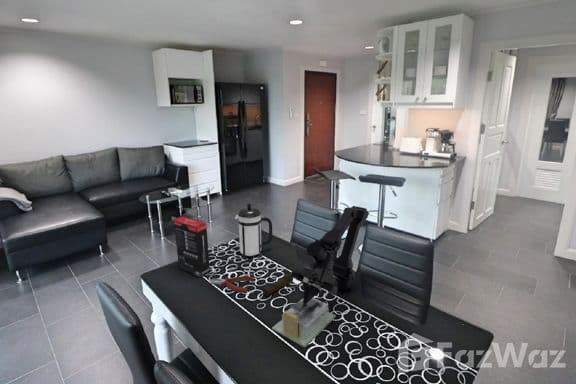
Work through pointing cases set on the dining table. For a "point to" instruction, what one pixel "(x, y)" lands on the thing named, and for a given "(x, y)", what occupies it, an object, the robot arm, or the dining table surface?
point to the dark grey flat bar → (304, 305)
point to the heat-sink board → (304, 323)
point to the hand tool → (277, 284)
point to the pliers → (228, 283)
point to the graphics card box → (192, 246)
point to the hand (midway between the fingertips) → (304, 303)
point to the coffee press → (251, 230)
